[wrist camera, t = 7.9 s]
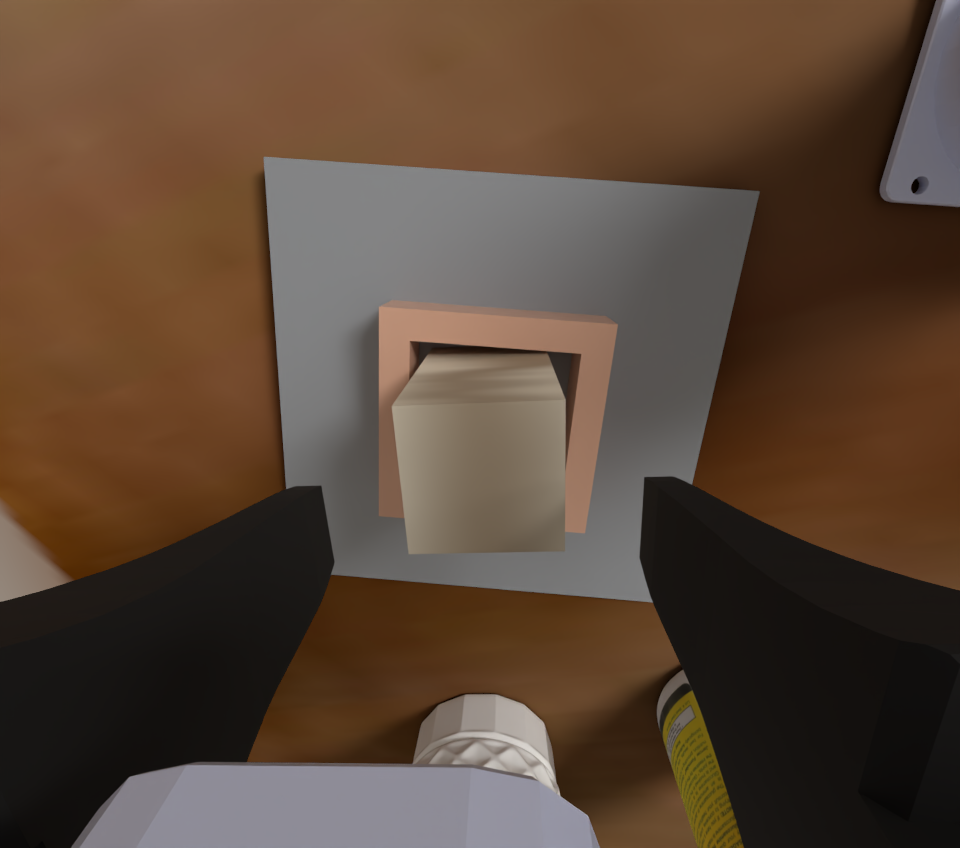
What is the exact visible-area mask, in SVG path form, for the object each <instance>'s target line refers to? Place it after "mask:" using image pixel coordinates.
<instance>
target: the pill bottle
mask: <svg viewBox="0 0 960 848" xmlns="http://www.w3.org/2000/svg"><path fill="white" fill-rule="evenodd" d="M657 720H658V725H659V729H660V732H661V736H662V739H663V742H664V745H665V748H666V751H667V754H668V757H669V760H670V763H671V766H672V769H673V773H674V776H675V779H676V782H677V785H678V788H679V791H680V794H681V797H682V800H683V803H684V806H685V810H686V813H687V816H688V819H689V822H690V825H691V828H692V831H693V834H694V837H695V840H696V843H697V846H698V848H744V847H743V843H742V840H741V836H740V833H739V829H738V826H737V823H736V819H735V816H734V813H733V810H732V807H731V803H730V800H729V797H728V794H727V790H726V787H725V784H724V781H723V778H722V774H721V771H720V768H719V765H718V762H717V759H716V756H715V753H714V750H713V747H712V744H711V741H710V738H709V735H708V732H707V729H706V726H705V723H704V720H703V717H702V714H701V711H700V708H699V706H698V703H697V701H696V698H695V696H694V693H693V691H692V688H691V686H690V684H689V682H688V679H687V677H686V675H685V673H684V671H683V670H682V671H680V672H679V673H677V674H676V675H675V676H674V677H673V678H672V679H670V681H669V682H668V683H667V684H666V685H665V687H664V688H663V690H662V692H661V695H660V698H659V701H658V705H657Z"/></svg>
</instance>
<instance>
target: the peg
mask: <svg viewBox="0 0 960 848" xmlns="http://www.w3.org/2000/svg"><path fill="white" fill-rule="evenodd" d="M392 414H393V422H394V431H395V440H396V448H397V457H398V466H399V474H400V483H401V492H402V501H403V509H404V518H405V527H406V535H407V544H408V553H409V554H447V553H502V552H557V551H565V446H566V399H565V397H564V394H563V392H562V389H561V387H560V384H559V381H558V379H557V376H556V374H555V371H554V369H553V366H552V363H551V361H550V358H549V356H548V353H547V351H538V350H525V349H512V348H499V347H486V346H466V347H442V348H432V349H431V351H430V352H429V353H428V355H427V356H426V358H425V359H424V361H423V362H422V363H421V365H420V366H419V368H418V369H417V371H416V372H415V373H414V375H413V376H412V378H411V379H410V381H409V382H408V384H407V385H406V386H405V388H404V389H403V391H402V392H401V394H400V395H399V396H398V398H397V399H396V401H395V402H394V404H393V405H392Z"/></svg>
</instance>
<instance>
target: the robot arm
mask: <svg viewBox="0 0 960 848" xmlns="http://www.w3.org/2000/svg"><path fill="white" fill-rule="evenodd" d="M915 179H917V180H918V181H919V188H918V190H917V191H916V192H915V193H913V192H912V191H911V184H912V183H913V181H914V180H915ZM880 194H881V197H882V198H883V199H884V200H885V201H888V202H893V203H907V204H922V205H936V206H951V207H960V0H936V2H935V5H934V9H933V12H932V15H931V19H930V22H929V25H928V29H927V32H926V35H925V38H924V42H923V45H922V48H921V52H920V55H919V58H918V62H917V65H916V68H915V71H914V75H913V78H912V81H911V85H910V88H909V91H908V95H907V98H906V101H905V104H904V108H903V111H902V114H901V118H900V121H899V124H898V128H897V131H896V134H895V137H894V141H893V144H892V147H891V151H890V154H889V157H888V161H887V164H886V167H885V170H884V174H883V177H882V180H881V184H880ZM639 558H640V562H641V565H642V569H643V573H644V576H645V580H646V583H647V587H648V590H649V593H650V597H651V599H652V601H653V604H654V606H655V608H656V611H657V613H658V615H659V617H660V620H661V622H662V624H663V626H664V629H665V631H666V633H667V635H668V637H669V640H670V642H671V644H672V646H673V648H674V651H675V653H676V655H677V657H678V660H679V662H680V664H681V666H682V668H683V671H684V673H685V675H686V677H687V679H688V682H689V684H690V686H691V688H692V691H693V693H694V696H695V698H696V701H697V703H698V706H699V708H700V711H701V714H702V717H703V720H704V723H705V726H706V729H707V732H708V735H709V738H710V741H711V744H712V747H713V750H714V753H715V756H716V759H717V762H718V765H719V768H720V771H721V774H722V778H723V781H724V784H725V787H726V790H727V794H728V797H729V800H730V803H731V807H732V810H733V813H734V816H735V819H736V823H737V826H738V829H739V833H740V836H741V840H742V843H743V847H744V848H960V591H959V590H955V589H951V588H947V587H943V586H940V585H936V584H932V583H928V582H925V581H921V580H917V579H914V578H910V577H907V576H904V575H901V574H897V573H894V572H891V571H888V570H884V569H881V568H878V567H874V566H871V565H868V564H865V563H862V562H859V561H856V560H853V559H850V558H848V557H845V556H842V555H840V554H837V553H834V552H832V551H829V550H827V549H824V548H821V547H819V546H816V545H813V544H811V543H808V542H806V541H804V540H801V539H799V538H796V537H794V536H792V535H790V534H787V533H785V532H783V531H781V530H779V529H777V528H775V527H772V526H770V525H768V524H766V523H764V522H762V521H760V520H758V519H756V518H754V517H752V516H750V515H748V514H746V513H744V512H742V511H740V510H738V509H736V508H734V507H732V506H731V505H729V504H727V503H725V502H723V501H721V500H719V499H717V498H716V497H714V496H712V495H710V494H708V493H706V492H705V491H703V490H701V489H699V488H697V487H695V486H693V485H691V484H689V483H687V482H685V481H683V480H681V479H679V478H676V477H674V476H666V477H644V490H643V507H642V523H641V539H640V556H639ZM334 563H335V561H334V556H333V550H332V544H331V538H330V532H329V527H328V521H327V515H326V509H325V504H324V498H323V492H322V486H321V485H320V486H294V487H291V488H288V489H286V490H283V491H281V492H279V493H276V494H274V495H272V496H270V497H268V498H266V499H264V500H262V501H260V502H258V503H256V504H254V505H252V506H250V507H248V508H246V509H244V510H242V511H240V512H238V513H236V514H234V515H232V516H230V517H228V518H226V519H224V520H222V521H220V522H219V523H216V524H214V525H212V526H210V527H208V528H206V529H204V530H202V531H200V532H197V533H195V534H193V535H191V536H189V537H187V538H185V539H183V540H180V541H178V542H176V543H174V544H172V545H170V546H167V547H165V548H163V549H160V550H158V551H155V552H153V553H151V554H148V555H146V556H143V557H141V558H138V559H135V560H133V561H130V562H128V563H125V564H122V565H120V566H117V567H114V568H111V569H109V570H106V571H103V572H100V573H97V574H93V575H90V576H87V577H84V578H81V579H78V580H75V581H72V582H69V583H66V584H62V585H59V586H56V587H53V588H50V589H47V590H43V591H40V592H36V593H33V594H29V595H25V596H22V597H18V598H15V599H11V600H7V601H3V602H0V848H600V847H599V844H598V842H597V839H596V836H595V833H594V831H593V828H592V825H591V822H590V820H589V817H588V815H586V814H585V813H583V812H582V811H581V810H579V809H578V808H576V807H575V806H573V805H572V804H571V803H569V802H568V801H566V800H565V799H564V798H562V797H561V796H559V795H558V794H556V793H555V792H554V791H552V790H551V789H549V788H548V787H547V786H545V785H544V784H542V783H541V782H539V781H538V780H537V779H535V778H534V777H532V776H528V775H523V774H518V773H513V772H508V771H503V770H498V769H493V768H488V767H483V766H478V765H473V764H372V763H263V762H247V759H248V757H249V754H250V752H251V749H252V746H253V744H254V741H255V739H256V736H257V734H258V731H259V729H260V726H261V724H262V721H263V718H264V716H265V713H266V711H267V709H268V707H269V704H270V702H271V700H272V698H273V696H274V694H275V691H276V689H277V687H278V685H279V683H280V682H281V680H282V678H283V676H284V674H285V672H286V670H287V668H288V666H289V664H290V662H291V660H292V658H293V656H294V655H295V653H296V651H297V649H298V647H299V645H300V643H301V641H302V639H303V637H304V635H305V633H306V631H307V629H308V627H309V625H310V624H311V622H312V620H313V618H314V616H315V614H316V612H317V610H318V608H319V606H320V603H321V601H322V599H323V596H324V593H325V591H326V588H327V585H328V582H329V579H330V576H331V573H332V570H333V566H334Z"/></svg>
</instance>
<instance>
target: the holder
mask: <svg viewBox="0 0 960 848" xmlns="http://www.w3.org/2000/svg"><path fill="white" fill-rule="evenodd" d="M264 170H265V184H266V199H267V214H268V229H269V243H270V258H271V273H272V288H273V302H274V317H275V332H276V347H277V361H278V376H279V391H280V406H281V420H282V435H283V450H284V465H285V479H286V489H288V488H291V487H294V486H320V485H321V486H322V492H323V498H324V504H325V509H326V515H327V521H328V527H329V532H330V538H331V544H332V550H333V556H334V561H335V563H334V566H333V570H332V573H331V575H342V576H354V577H365V578H377V579H389V580H400V581H412V582H423V583H435V584H447V585H458V586H470V587H481V588H493V589H504V590H516V591H528V592H539V593H551V594H562V595H574V596H586V597H597V598H609V599H620V600H632V601H644V602H653V601H652V599H651V597H650V593H649V590H648V587H647V583H646V580H645V576H644V573H643V569H642V565H641V562H640V558H639V556H640V539H641V523H642V507H643V490H644V477H666V476H674V477H676V478H679V479H681V480H683V481H685V482H687V483H689V484H691V485H692V482H693V478H694V473H695V469H696V465H697V460H698V456H699V452H700V448H701V443H702V439H703V435H704V430H705V426H706V422H707V417H708V413H709V409H710V404H711V400H712V396H713V391H714V387H715V383H716V378H717V374H718V370H719V365H720V361H721V357H722V352H723V348H724V344H725V339H726V335H727V331H728V326H729V322H730V318H731V313H732V309H733V305H734V301H735V296H736V292H737V288H738V283H739V279H740V275H741V270H742V266H743V262H744V257H745V253H746V249H747V244H748V240H749V236H750V231H751V227H752V223H753V218H754V214H755V210H756V205H757V201H758V197H759V192H760V191H751V190H736V189H722V188H708V187H693V186H679V185H664V184H650V183H635V182H621V181H606V180H592V179H577V178H563V177H548V176H534V175H519V174H505V173H490V172H476V171H461V170H447V169H432V168H418V167H403V166H389V165H374V164H360V163H346V162H331V161H317V160H302V159H288V158H273V157H264ZM466 346H486V347H499V348H512V349H525V350H538V351H547V353H548V356H549V358H550V361H551V363H552V366H553V369H554V371H555V374H556V376H557V379H558V381H559V384H560V387H561V389H562V392H563V394H564V397H565V399H566V446H565V551H557V552H502V553H447V554H409V553H408V544H407V535H406V527H405V518H404V509H403V501H402V492H401V483H400V474H399V466H398V457H397V448H396V440H395V431H394V422H393V414H392V405H393V404H394V402H395V401H396V399H397V398H398V396H399V395H400V394H401V392H402V391H403V389H404V388H405V386H406V385H407V384H408V382H409V381H410V379H411V378H412V376H413V375H414V373H415V372H416V371H417V369H418V368H419V366H420V365H421V363H422V362H423V361H424V359H425V358H426V356H427V355H428V353H429V352H430V351H431V349H432V348H442V347H466Z"/></svg>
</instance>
